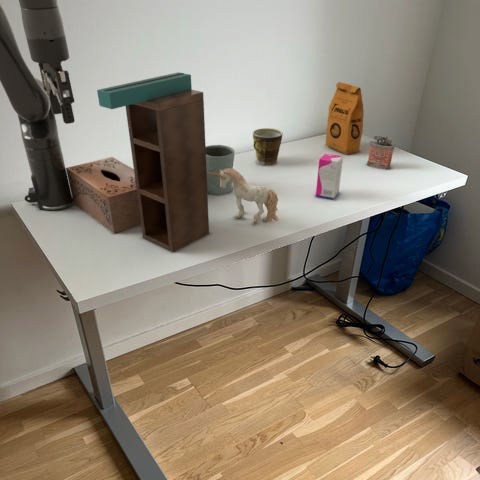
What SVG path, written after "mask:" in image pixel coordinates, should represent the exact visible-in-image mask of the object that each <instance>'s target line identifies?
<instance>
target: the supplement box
mask: <svg viewBox="0 0 480 480" xmlns="http://www.w3.org/2000/svg"><path fill="white" fill-rule="evenodd" d="M343 160H344V155H341V154H340V155H339V154H332V153H327V152H326V153H324V154H323V155H322V156H321V157H320V158H318V169H317V179H316V188H315V197H317V198H322V199H327V200H335V199H336V197H337V196H339V193H340V187H341V186H340V185H341V177H342V170H343V162H344V161H343Z"/></svg>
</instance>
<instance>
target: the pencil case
mask: <svg viewBox="0 0 480 480" xmlns="http://www.w3.org/2000/svg"><path fill="white" fill-rule="evenodd" d="M187 90H193V89H192V75H191V74H189V73H184V72H180V71H179V72H173V73H169V74H165V75H160V76H159V75H158V76H155V77H151V78H146V79H141V80H136V81H132V82H127V83H122V84H118V85H113V86H109V87H105V88H100V89H97V91H96V92H97V98H98V105H99V107H102V108H106V109H108V110H115V109H119V108H123V107H126V106H127V105H131V104H135V103H139V102H143V101H147V100H151V99H155V98H159V97H163V96H167V95H171V94H175V93H179V92H183V91H187Z"/></svg>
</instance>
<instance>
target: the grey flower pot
mask: <svg viewBox="0 0 480 480" xmlns="http://www.w3.org/2000/svg"><path fill="white" fill-rule="evenodd" d="M235 153H236V152H235V149H234V148H233V147H231V146H228V145H223V144H211V145H206V170H207V172H210V173H217V174H220V173H221V172H220V170H222V171H223V170H224V169H228V168H229V169H230V168H233V167H234V162H235V161H234V160H235ZM233 169H234V168H233ZM220 180H221V179H220V177H218V176H215V175H211V174H207V194H210V195H215V196H218V195H219V196H221V195H226V194H228V193H230V192H232V190H233V183H232V182H231V180H230V181H229V182H227V184H226V187H225V188H224V189H222V188H221V187H220Z"/></svg>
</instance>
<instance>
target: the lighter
mask: <svg viewBox="0 0 480 480" xmlns="http://www.w3.org/2000/svg"><path fill="white" fill-rule="evenodd" d="M372 139H373V141H370V143H369V145H370V146H369V153H368V160H367V162H366V165H367V166H368V167H372V168H376V169H380V170H390V169H391V164H392V158H393V153H394V149H395V145H394V144H393V143H392V141H393V138H390V137H388V136H387V135H384V136H382V135H377V134H374V135H373V138H372Z"/></svg>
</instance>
